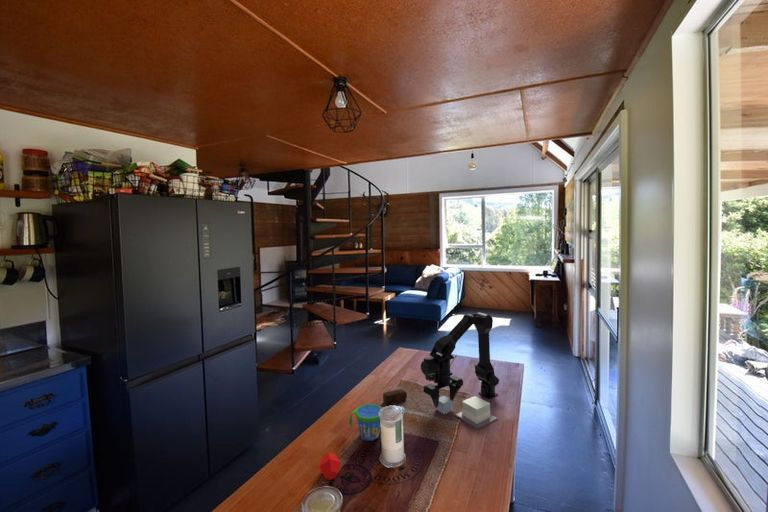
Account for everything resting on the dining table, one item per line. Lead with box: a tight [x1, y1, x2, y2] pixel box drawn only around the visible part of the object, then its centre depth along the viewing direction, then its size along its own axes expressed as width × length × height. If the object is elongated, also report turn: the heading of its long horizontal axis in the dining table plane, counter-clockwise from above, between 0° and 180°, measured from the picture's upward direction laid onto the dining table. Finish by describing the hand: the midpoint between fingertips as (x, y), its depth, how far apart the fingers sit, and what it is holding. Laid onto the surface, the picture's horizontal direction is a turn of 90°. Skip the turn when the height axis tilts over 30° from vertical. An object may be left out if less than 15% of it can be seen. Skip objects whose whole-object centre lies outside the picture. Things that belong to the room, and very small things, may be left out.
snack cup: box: [349, 403, 382, 442], centre depth 126 cm, size 16×10×10 cm
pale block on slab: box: [454, 395, 498, 430], centre depth 137 cm, size 12×12×7 cm
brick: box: [382, 388, 408, 406], centre depth 152 cm, size 11×4×5 cm, turn 117°
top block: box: [435, 395, 453, 415], centre depth 143 cm, size 5×5×5 cm
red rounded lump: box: [318, 451, 341, 481], centre depth 107 cm, size 7×7×8 cm
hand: (443, 404), depth 143 cm, fingers open, 9 cm apart
